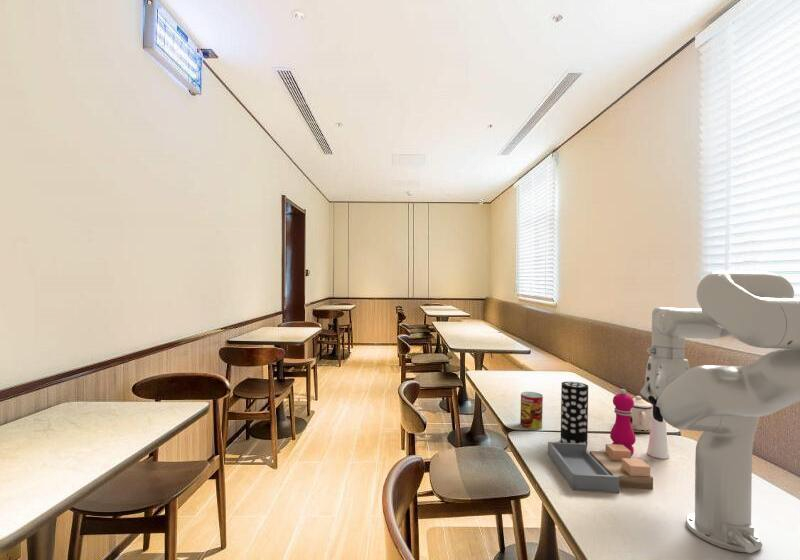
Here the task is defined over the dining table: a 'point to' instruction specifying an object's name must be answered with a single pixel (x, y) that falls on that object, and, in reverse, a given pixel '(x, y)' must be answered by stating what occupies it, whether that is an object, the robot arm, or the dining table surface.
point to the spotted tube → (574, 412)
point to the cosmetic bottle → (658, 439)
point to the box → (581, 468)
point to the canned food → (531, 410)
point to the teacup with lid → (641, 414)
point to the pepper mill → (623, 421)
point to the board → (622, 472)
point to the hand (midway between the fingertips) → (666, 420)
